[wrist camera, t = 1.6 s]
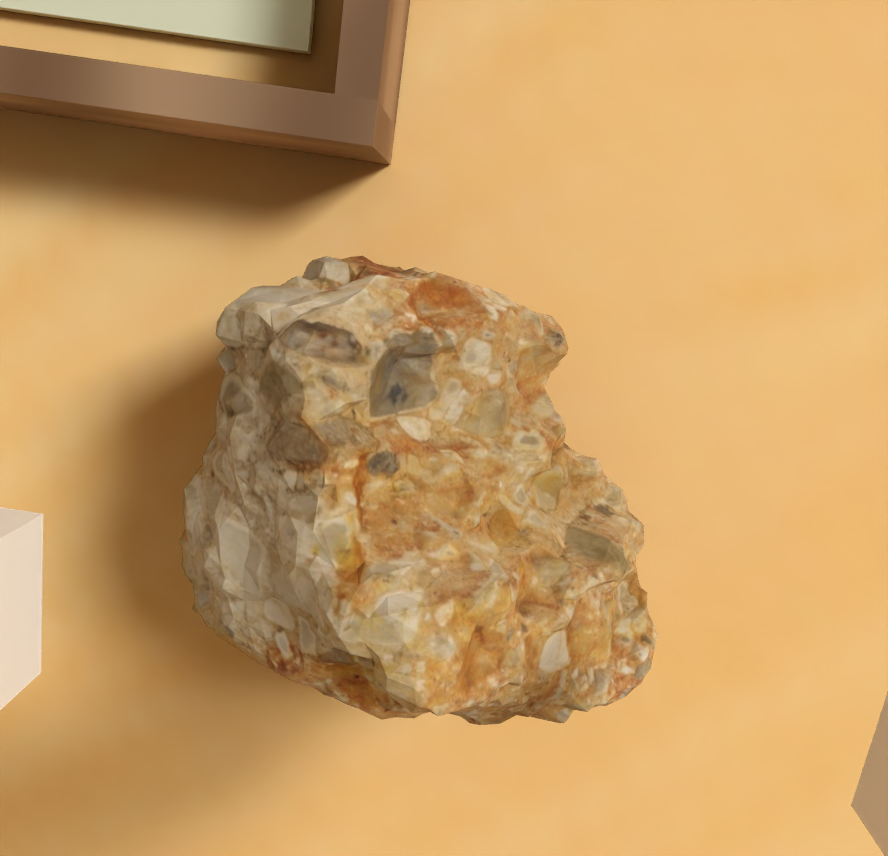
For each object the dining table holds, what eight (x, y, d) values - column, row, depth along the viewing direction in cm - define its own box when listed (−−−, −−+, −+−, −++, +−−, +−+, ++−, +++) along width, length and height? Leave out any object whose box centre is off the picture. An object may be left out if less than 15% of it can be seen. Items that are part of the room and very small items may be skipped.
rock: (221, 532, 23) (31, 735, 13) (325, 217, 21) (185, 182, 11) (570, 663, 23) (633, 952, 14) (711, 369, 21) (910, 467, 11)
